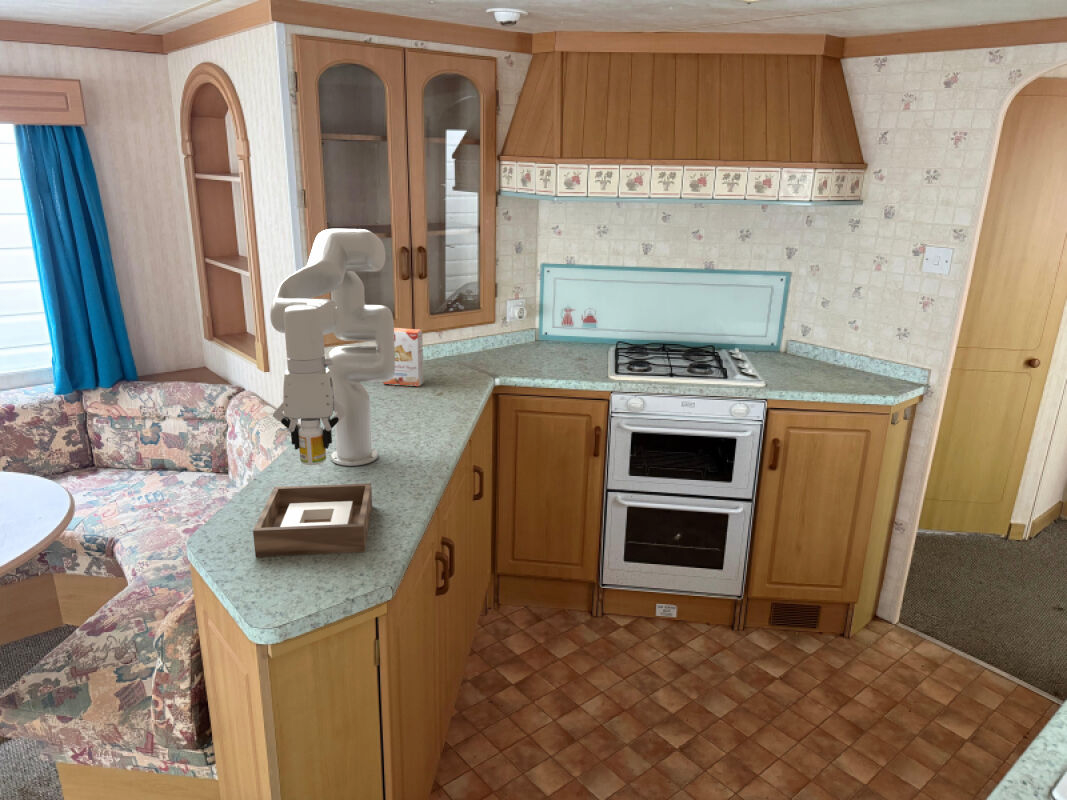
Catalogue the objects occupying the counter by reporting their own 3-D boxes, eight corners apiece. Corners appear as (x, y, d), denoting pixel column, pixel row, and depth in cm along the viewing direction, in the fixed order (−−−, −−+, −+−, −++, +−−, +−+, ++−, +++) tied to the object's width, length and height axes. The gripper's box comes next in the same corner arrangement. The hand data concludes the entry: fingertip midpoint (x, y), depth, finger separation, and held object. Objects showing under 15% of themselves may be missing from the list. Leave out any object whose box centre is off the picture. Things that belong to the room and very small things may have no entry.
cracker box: (382, 385, 275) (380, 329, 269) (388, 381, 281) (386, 326, 274) (419, 388, 273) (417, 332, 267) (424, 383, 279) (422, 328, 272)
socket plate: (290, 513, 170) (289, 503, 170) (353, 510, 172) (352, 501, 172) (279, 542, 157) (278, 531, 156) (346, 539, 159) (346, 528, 158)
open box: (276, 510, 174) (274, 486, 172) (372, 506, 177) (371, 483, 175) (255, 557, 153) (252, 530, 151) (364, 551, 156) (363, 526, 154)
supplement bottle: (328, 456, 163) (326, 414, 160) (322, 466, 158) (320, 422, 155) (304, 456, 163) (300, 414, 160) (297, 465, 158) (294, 422, 155)
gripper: (350, 360, 159) (354, 439, 164) (267, 361, 157) (274, 442, 162) (346, 368, 152) (351, 452, 157) (259, 370, 150) (267, 454, 155)
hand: (312, 446), depth 160 cm, fingers closed on supplement bottle, 5 cm apart
